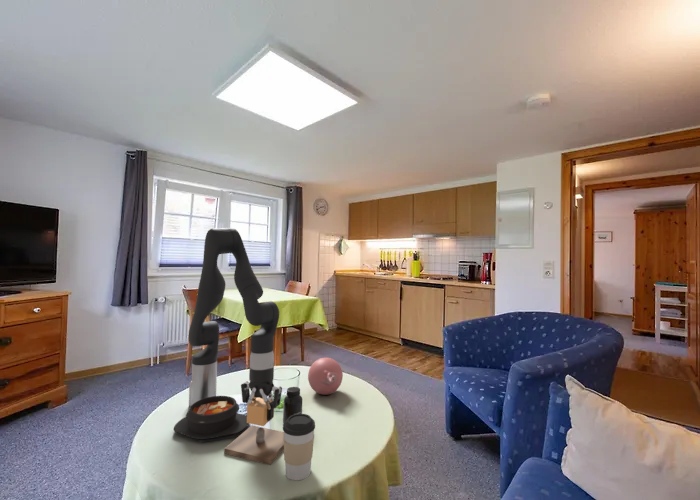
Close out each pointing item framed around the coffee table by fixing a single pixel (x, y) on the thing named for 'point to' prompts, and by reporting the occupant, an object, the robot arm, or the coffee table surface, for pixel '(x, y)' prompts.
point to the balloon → (325, 376)
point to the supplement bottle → (292, 403)
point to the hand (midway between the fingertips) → (260, 417)
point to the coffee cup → (298, 445)
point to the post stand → (257, 445)
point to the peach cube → (257, 412)
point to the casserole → (212, 418)
